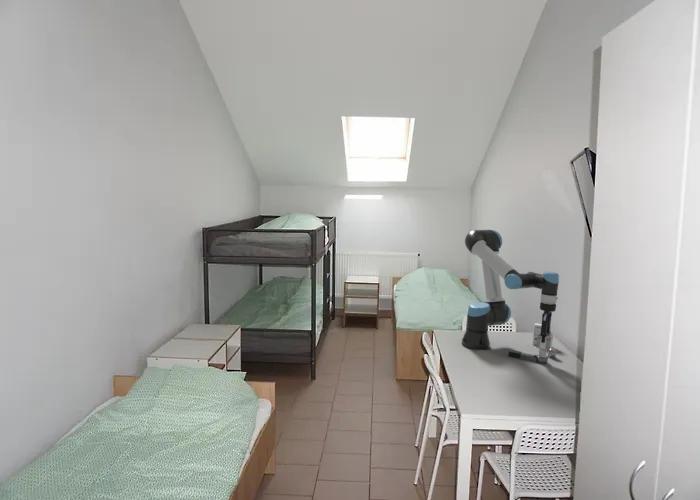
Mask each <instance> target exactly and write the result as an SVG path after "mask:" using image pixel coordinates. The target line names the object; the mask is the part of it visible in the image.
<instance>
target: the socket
mask: <svg viewBox="0 0 700 500" xmlns="http://www.w3.org/2000/svg"><path fill="white" fill-rule="evenodd" d="M539 334H541V332H539V333H538V337H537V345H536V348H537V349H540V339H541V336H539ZM543 334H544V333H543ZM553 338H554V333H553V332H551V333H547V339H546V349H547V351H548V350H550V349H551V348H553ZM541 349H542V348H541Z"/></svg>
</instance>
